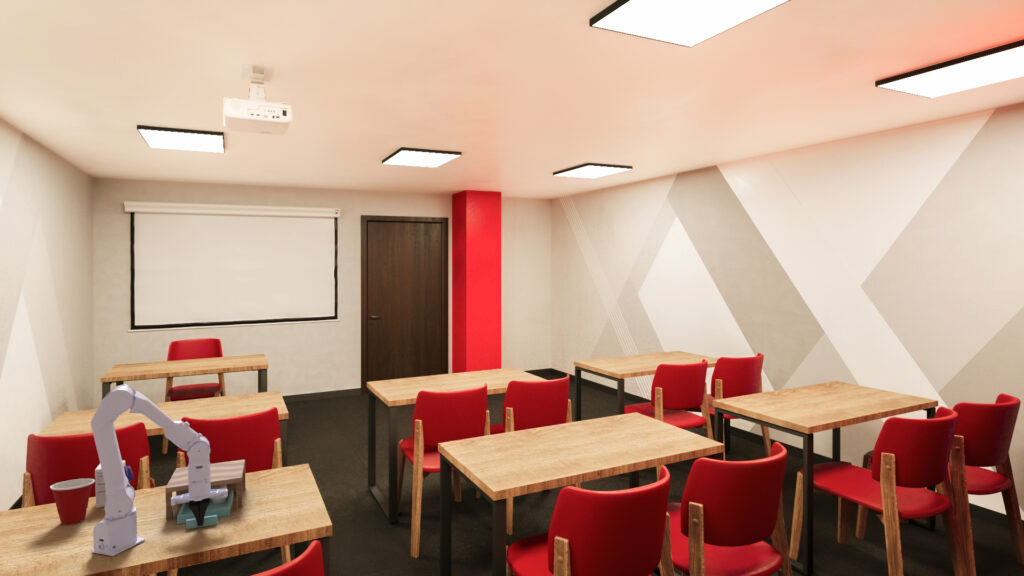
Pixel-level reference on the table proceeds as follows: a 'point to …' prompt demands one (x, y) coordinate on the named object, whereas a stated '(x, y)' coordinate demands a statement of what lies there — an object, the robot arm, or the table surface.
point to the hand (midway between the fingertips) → (200, 524)
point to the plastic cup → (72, 499)
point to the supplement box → (100, 487)
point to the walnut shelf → (219, 475)
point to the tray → (213, 512)
